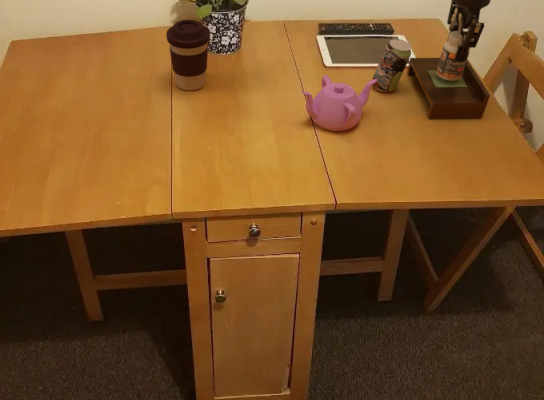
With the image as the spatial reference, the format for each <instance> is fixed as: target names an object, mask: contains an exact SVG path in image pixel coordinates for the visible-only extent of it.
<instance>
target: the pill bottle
mask: <svg viewBox="0 0 544 400" xmlns="http://www.w3.org/2000/svg"><path fill="white" fill-rule="evenodd" d="M448 36H449V37H448ZM448 36H447V39H448V41H447V40H446V41H445V43H444V44H443V46H442V50H441V53H440V56H439V58H440V60H439V63H438V67H437V71H436V73H437V75H438V76H439V77H440V78H442V79H445V80H449V81H454V80H458V79H460V78H461V76H462V73H463V71H464V68H465V64H466V61H467V60H468V58H469V55H470V51H471V48H469V50H468V54H467V57H466V60H465V61H463V62H457V61H456V60H455V55H456V52H457V49H458V45H459V40H460V35H459V34H458V31H452V32H451V33H450V34H449V33H448ZM465 37H466V35H465V36H464V39H465Z"/></svg>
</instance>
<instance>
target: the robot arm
mask: <svg viewBox="0 0 544 400" xmlns="http://www.w3.org/2000/svg"><path fill="white" fill-rule="evenodd" d="M491 1H492V0H451V2H450V7H449V11H448V16H447V21H446V24H447V25H448V31H449V33H448V36H447V40H446V42H447V41H448V37H449V34H450V33H451V32H452V31H458V34H459V35H460V40H459V45H458V49H457V52H456V55H455V60H456V61H457V62H463V61H465V60H466V57H467V54H468V50H469V48H470V49H474V48H476V47H477V45H478V42H479V40H480V37H481V35H482V33H483V31H484V28H485V22H480V14H481V10H483V8H486V7H488V6H489V5H490V4H491ZM465 35H466V37H465V39H464V36H465Z"/></svg>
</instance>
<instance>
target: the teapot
mask: <svg viewBox="0 0 544 400" xmlns="http://www.w3.org/2000/svg"><path fill="white" fill-rule="evenodd" d="M372 79H373V78H372ZM372 79H371V80H369V81H367V83H366V84H365V85H364V87H363V89H362V91H361V92H360V93H359V94H357V92H356V91H355V89H354V88H353V86H350V85H349V84H347V83H343V82H332V80H331V78H330V77H329V76H328V75H327V74H324V75H322V77H321V89H320V90H319V91H318V92H317V93H316V94H315V96H314V97H313V95H312V93H311V92H308V91H301V93H302V94H303V95H304V96H305V97H306V101H305V110H306V113H307V115H308V116H309V117H311V119H312V121H313V123H315V124H316V125H317V126H318V127H320V128H322V129H324V130H327V131H332V132H344V131H348V130H350V129H352V128H353V127H355V126H357V125H358V123H359V122H360V121H361V119H362V115H363V110H362V109H363V108H364V107H365V106H366V105H367V103H368V101H369V97H370V92H371V89H372V87H373V86H374V85H373V84H374V83H375V82H376V81H377V79H373V80H372Z"/></svg>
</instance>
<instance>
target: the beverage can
mask: <svg viewBox="0 0 544 400" xmlns="http://www.w3.org/2000/svg"><path fill="white" fill-rule="evenodd" d="M411 55H412V46H411V44H410V43H408V42H407V41H405V40H404V39H399V38H393V39H390V40H389V42H387V44H386V45H385V46H384V49H383V51H382V54H381V56H380V59H379V62H378V64H377V67H376V68H375V71H374V73H373V77H372V79H371V80H373V79H377V81H376V82H375V83H374V84H373V85H372V86H374V87H375V88H376V90H379V91H381V92H384V93H390V92H393V91H395V90H396V89H397V88H398V85H399V83H400V80H401V78H402V76H403V74H404V71H405V70H406V67H407V64H408V62H409V61H410V58H411Z"/></svg>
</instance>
